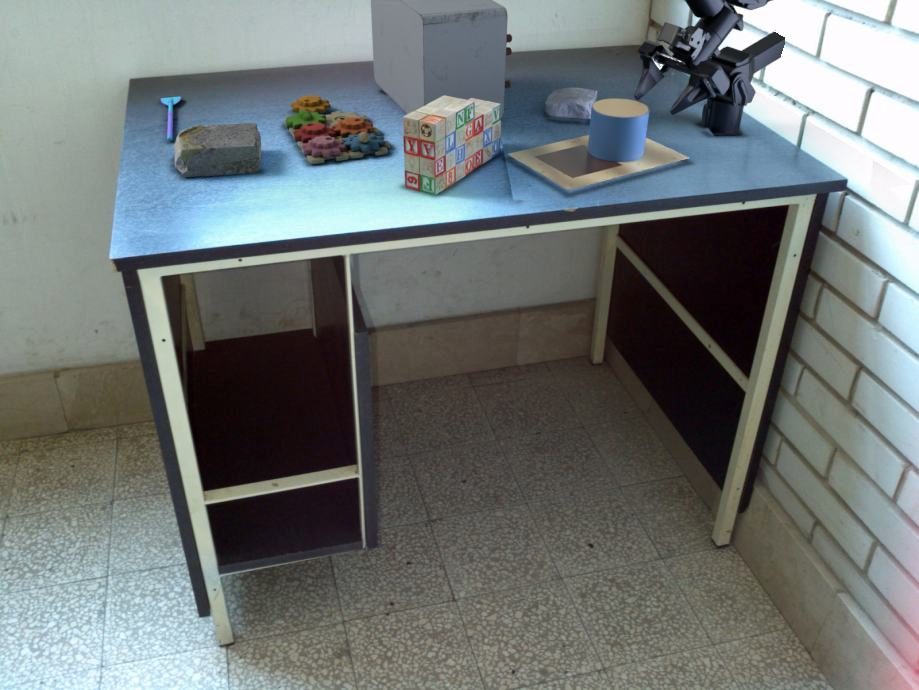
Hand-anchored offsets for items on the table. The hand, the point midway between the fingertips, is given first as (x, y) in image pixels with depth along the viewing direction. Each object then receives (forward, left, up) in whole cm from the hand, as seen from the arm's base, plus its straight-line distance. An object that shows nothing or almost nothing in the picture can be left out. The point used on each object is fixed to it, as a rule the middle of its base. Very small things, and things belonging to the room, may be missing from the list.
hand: (653, 105), depth 159 cm
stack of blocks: (+36, +10, -8) cm, 38 cm away
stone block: (+12, -19, -8) cm, 24 cm away
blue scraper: (+90, -16, -8) cm, 92 cm away
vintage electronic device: (+38, -23, -8) cm, 45 cm away
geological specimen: (+77, +7, -8) cm, 78 cm away
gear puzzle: (+59, -9, -8) cm, 60 cm away
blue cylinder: (+7, +4, -7) cm, 10 cm away
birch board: (+10, +6, -8) cm, 14 cm away
